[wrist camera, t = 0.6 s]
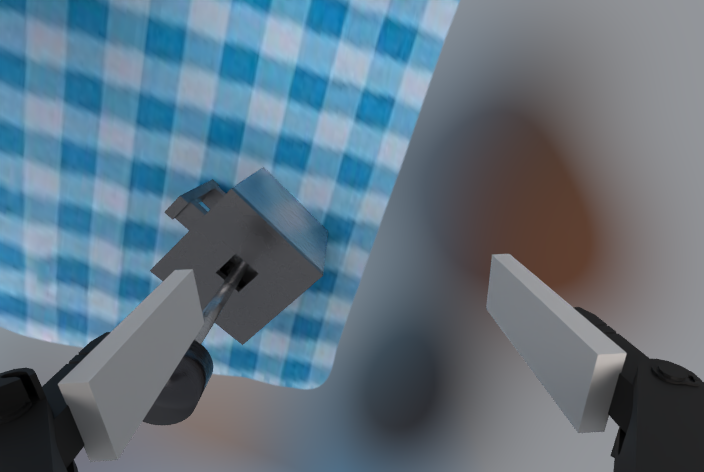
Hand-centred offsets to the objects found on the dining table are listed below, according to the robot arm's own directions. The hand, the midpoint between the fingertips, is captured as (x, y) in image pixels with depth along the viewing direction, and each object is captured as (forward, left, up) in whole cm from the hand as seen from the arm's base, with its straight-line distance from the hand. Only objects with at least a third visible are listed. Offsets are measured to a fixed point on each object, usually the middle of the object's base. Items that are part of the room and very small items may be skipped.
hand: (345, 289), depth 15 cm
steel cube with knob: (-3, -13, -31) cm, 34 cm away
